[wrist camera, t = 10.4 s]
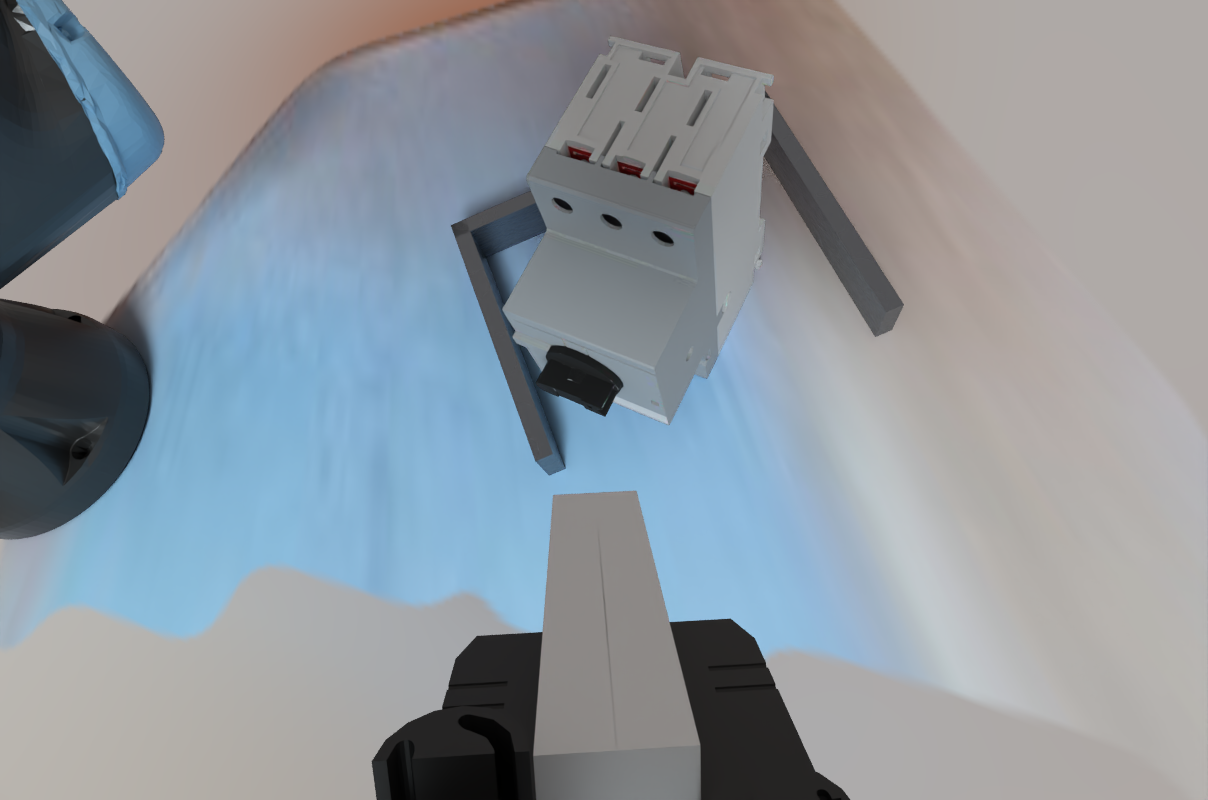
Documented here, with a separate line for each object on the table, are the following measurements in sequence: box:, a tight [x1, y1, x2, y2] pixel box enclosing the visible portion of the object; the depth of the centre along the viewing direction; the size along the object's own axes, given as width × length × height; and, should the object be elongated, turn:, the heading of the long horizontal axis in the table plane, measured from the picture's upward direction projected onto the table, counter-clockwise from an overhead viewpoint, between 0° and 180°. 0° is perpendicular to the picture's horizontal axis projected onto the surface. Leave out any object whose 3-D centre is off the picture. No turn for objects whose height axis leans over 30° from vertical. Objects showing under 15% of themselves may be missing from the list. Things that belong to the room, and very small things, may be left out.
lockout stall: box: [451, 91, 904, 475], centre depth 42 cm, size 17×21×3 cm
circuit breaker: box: [502, 36, 774, 425], centre depth 35 cm, size 8×14×15 cm, turn 153°
